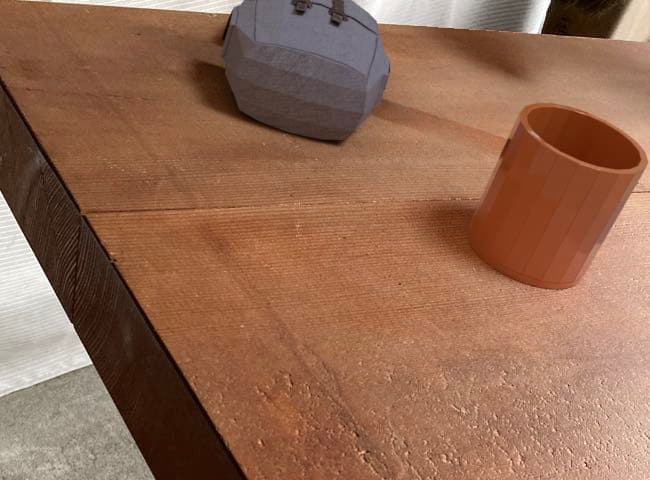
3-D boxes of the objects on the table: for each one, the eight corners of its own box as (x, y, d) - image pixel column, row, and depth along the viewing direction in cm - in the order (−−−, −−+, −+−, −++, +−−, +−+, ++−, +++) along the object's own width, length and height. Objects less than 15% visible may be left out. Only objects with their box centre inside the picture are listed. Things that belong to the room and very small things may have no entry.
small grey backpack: (371, 160, 85) (374, 70, 99) (405, 64, 79) (403, -18, 93) (202, 111, 84) (228, 26, 97) (224, 9, 78) (249, -66, 91)
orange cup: (578, 239, 85) (639, 129, 77) (588, 303, 78) (656, 188, 70) (466, 204, 84) (518, 89, 77) (466, 265, 77) (522, 145, 70)
